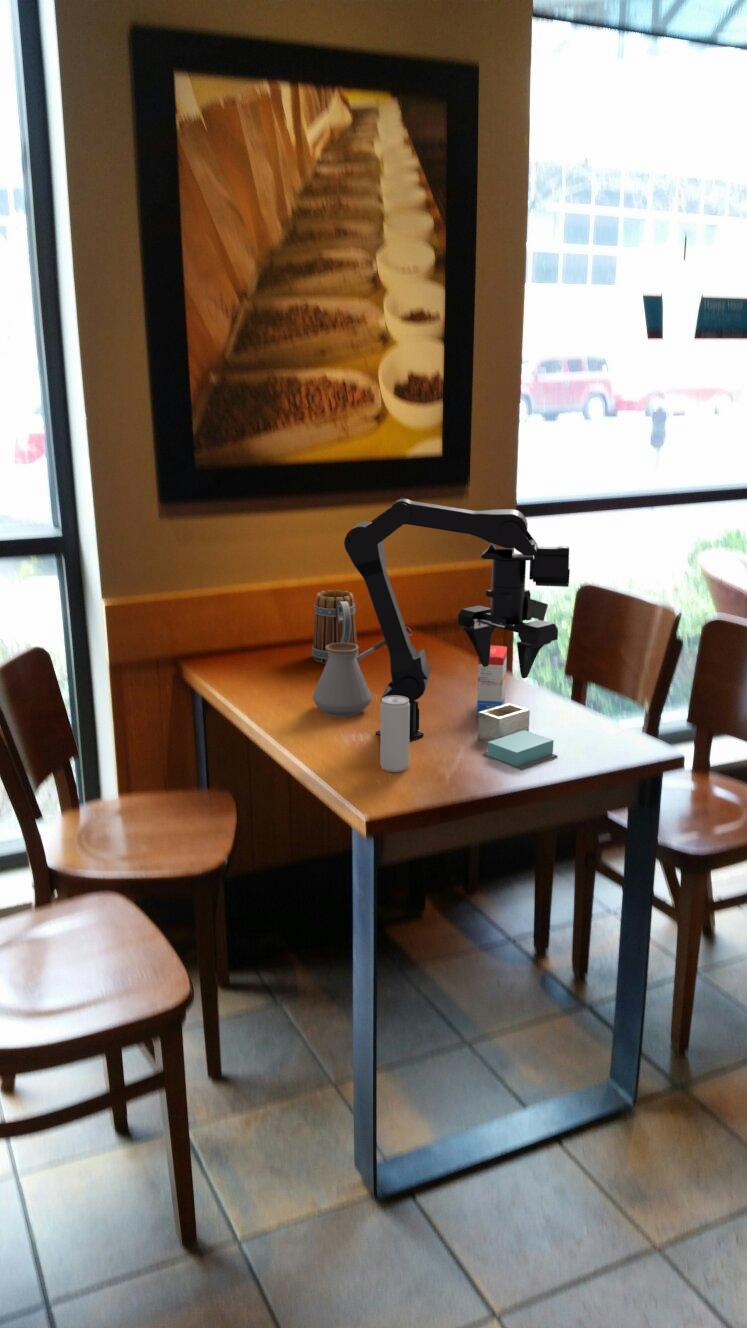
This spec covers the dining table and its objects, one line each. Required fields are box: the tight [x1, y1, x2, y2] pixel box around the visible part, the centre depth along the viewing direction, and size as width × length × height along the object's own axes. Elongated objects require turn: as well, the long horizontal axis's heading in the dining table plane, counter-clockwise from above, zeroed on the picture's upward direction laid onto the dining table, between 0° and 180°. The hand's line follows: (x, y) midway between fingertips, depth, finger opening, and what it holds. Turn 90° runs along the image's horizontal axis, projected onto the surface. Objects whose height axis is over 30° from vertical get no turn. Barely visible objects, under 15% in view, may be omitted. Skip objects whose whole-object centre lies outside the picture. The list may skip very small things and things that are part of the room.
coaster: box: [482, 751, 558, 771], centre depth 186 cm, size 9×9×1 cm
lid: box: [486, 730, 554, 766], centre depth 186 cm, size 9×7×2 cm
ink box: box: [476, 645, 508, 715], centre depth 209 cm, size 8×5×15 cm, turn 169°
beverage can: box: [379, 695, 410, 773], centre depth 180 cm, size 5×5×12 cm
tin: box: [477, 702, 531, 743], centre depth 195 cm, size 8×5×5 cm, turn 131°
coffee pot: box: [312, 625, 414, 718], centre depth 210 cm, size 21×12×15 cm, turn 121°
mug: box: [311, 589, 359, 665], centre depth 241 cm, size 16×11×15 cm
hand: (504, 672), depth 190 cm, fingers open, 9 cm apart
